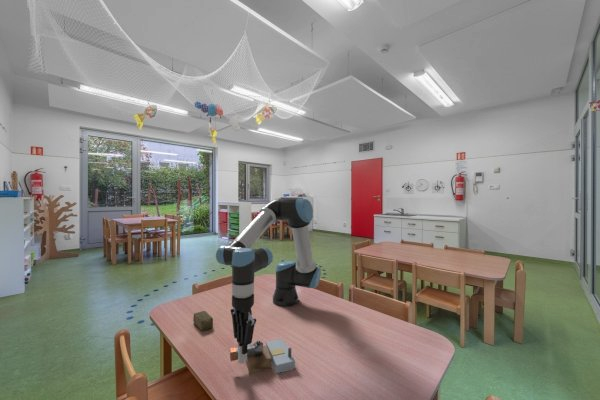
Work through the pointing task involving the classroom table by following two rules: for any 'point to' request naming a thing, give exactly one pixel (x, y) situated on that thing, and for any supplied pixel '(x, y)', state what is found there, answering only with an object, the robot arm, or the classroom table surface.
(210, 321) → the stone block
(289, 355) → the grey block with peg
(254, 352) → the latch bar
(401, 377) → the classroom table surface
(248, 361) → the block
